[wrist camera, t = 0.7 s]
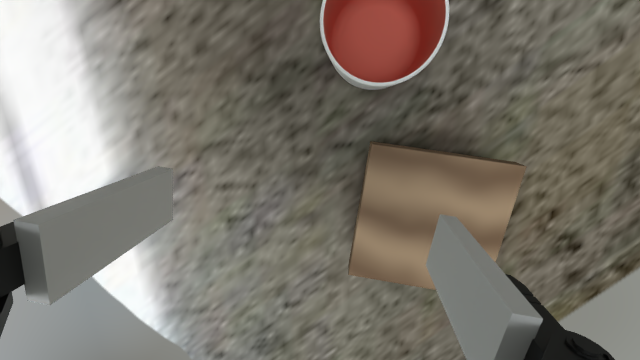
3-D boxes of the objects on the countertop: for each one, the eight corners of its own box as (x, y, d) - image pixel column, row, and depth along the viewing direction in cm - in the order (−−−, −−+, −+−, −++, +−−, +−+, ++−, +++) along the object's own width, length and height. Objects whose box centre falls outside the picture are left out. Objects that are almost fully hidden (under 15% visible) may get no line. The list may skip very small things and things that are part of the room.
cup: (428, -5, 31) (463, -52, 22) (411, 94, 34) (435, 92, 24) (333, -12, 32) (326, -60, 22) (324, 86, 35) (314, 80, 25)
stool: (367, 134, 35) (371, 144, 28) (487, 151, 35) (526, 166, 27) (349, 240, 39) (348, 274, 32) (457, 258, 38) (483, 298, 31)
